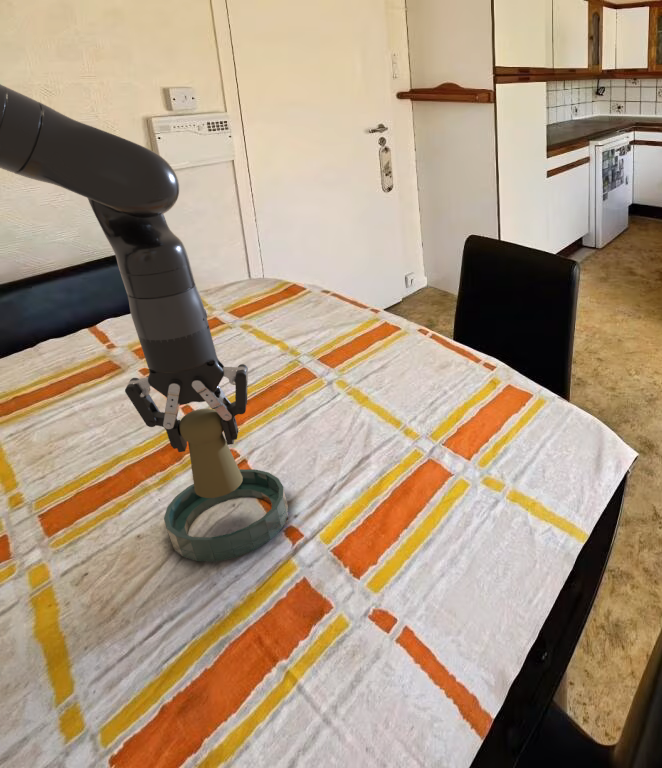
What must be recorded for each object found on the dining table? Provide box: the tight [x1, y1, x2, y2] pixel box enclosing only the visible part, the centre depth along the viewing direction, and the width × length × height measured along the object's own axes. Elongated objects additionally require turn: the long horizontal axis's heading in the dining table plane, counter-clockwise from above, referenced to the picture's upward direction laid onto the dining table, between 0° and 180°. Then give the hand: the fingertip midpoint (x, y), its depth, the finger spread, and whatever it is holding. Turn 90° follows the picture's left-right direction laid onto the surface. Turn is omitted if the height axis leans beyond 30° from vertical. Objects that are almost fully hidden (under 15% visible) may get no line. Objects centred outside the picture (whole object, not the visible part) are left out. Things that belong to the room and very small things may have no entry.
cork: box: [179, 408, 243, 498], centre depth 82 cm, size 6×6×11 cm
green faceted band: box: [163, 468, 289, 562], centre depth 87 cm, size 15×15×5 cm
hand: (207, 444), depth 81 cm, fingers closed on cork, 5 cm apart
